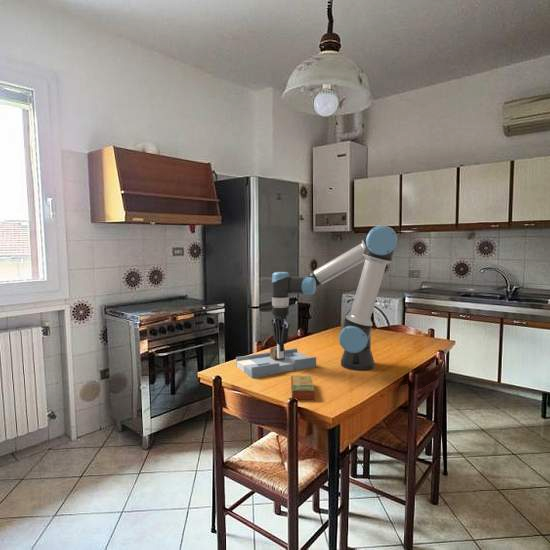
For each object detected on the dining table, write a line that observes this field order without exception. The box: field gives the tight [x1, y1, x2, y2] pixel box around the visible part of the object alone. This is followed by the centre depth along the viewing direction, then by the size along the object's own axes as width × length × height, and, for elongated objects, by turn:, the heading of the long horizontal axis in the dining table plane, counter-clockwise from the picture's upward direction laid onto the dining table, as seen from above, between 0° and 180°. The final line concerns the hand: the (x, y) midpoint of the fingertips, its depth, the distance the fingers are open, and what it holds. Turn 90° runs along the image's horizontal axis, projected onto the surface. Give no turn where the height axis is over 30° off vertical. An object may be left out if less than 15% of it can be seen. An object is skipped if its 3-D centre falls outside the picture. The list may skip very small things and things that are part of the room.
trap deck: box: [235, 347, 317, 379], centre depth 183 cm, size 18×32×4 cm, turn 118°
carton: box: [290, 375, 316, 402], centre depth 152 cm, size 8×16×4 cm, turn 0°
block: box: [269, 346, 286, 361], centre depth 185 cm, size 5×5×5 cm
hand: (280, 357), depth 182 cm, fingers closed
